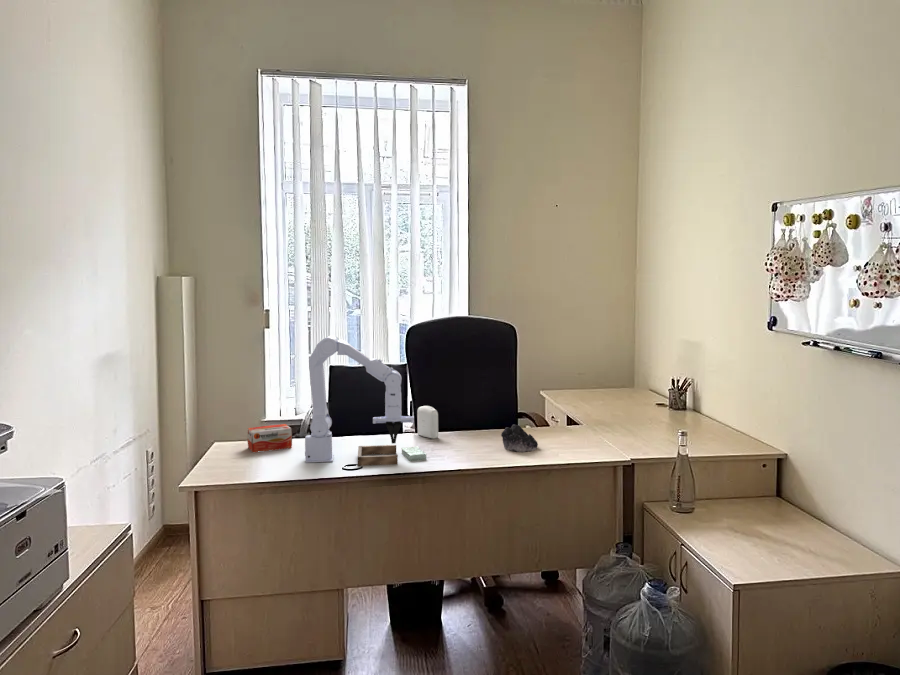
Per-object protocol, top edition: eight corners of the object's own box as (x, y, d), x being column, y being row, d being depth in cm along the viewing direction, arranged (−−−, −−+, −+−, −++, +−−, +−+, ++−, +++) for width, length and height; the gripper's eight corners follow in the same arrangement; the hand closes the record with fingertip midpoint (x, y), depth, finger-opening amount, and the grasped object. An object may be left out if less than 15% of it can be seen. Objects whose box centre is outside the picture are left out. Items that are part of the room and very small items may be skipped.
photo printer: (415, 434, 285) (415, 405, 284) (424, 433, 287) (424, 403, 286) (431, 439, 277) (431, 408, 276) (439, 437, 280) (439, 407, 278)
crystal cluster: (538, 446, 269) (536, 420, 269) (538, 452, 255) (536, 425, 255) (503, 448, 270) (501, 422, 270) (501, 454, 257) (499, 427, 257)
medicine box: (252, 453, 258) (251, 432, 257) (247, 448, 265) (246, 427, 264) (292, 448, 265) (292, 427, 264) (286, 443, 272) (286, 423, 271)
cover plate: (410, 462, 245) (410, 455, 245) (401, 454, 256) (401, 448, 256) (426, 460, 247) (426, 453, 247) (417, 453, 258) (417, 446, 258)
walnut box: (357, 465, 240) (357, 457, 240) (358, 454, 255) (358, 446, 255) (397, 464, 241) (397, 455, 241) (396, 452, 257) (396, 444, 256)
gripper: (372, 407, 242) (373, 446, 244) (414, 406, 244) (414, 445, 245) (372, 403, 249) (373, 441, 251) (413, 403, 251) (413, 440, 252)
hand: (393, 442), depth 248 cm, fingers closed
